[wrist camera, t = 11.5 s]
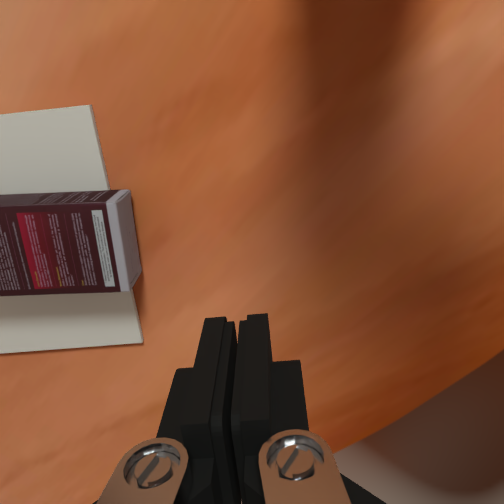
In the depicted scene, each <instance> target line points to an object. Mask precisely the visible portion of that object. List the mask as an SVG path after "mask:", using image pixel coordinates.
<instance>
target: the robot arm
mask: <svg viewBox="0 0 504 504" xmlns="http://www.w3.org/2000/svg"><path fill="white" fill-rule="evenodd" d="M241 498H242V504H386V503H385V502H383V501H382V500H380V499H379V498H377V497H376V496H374V495H372V494H371V493H370V492H368V491H367V490H365V489H363V488H362V487H361V486H359V485H358V484H356V483H354V482H353V481H351V480H350V479H348V478H347V477H345V476H344V475H342V474H341V473H340V472H339V470H338V467H337V465H336V462H335V459H334V457H333V454H332V451H331V449H330V447H329V446H328V444H327V442H326V441H325V440H323V439H322V438H321V437H320V436H319V435H317V434H314V433H312V432H310V431H309V427H308V419H307V411H306V403H305V395H304V387H303V379H302V371H301V363H300V360H291V361H277V362H273V361H272V351H271V341H270V331H269V321H268V314H267V313H265V314H252V315H247V320H244V321H240V323H239V334H238V344H237V337H236V330H235V323H234V321H231V322H227V319H226V317H214V318H205V321H204V325H203V329H202V333H201V338H200V342H199V346H198V350H197V354H196V359H195V363H194V367H193V368H179V369H177V370H176V372H175V375H174V378H173V382H172V385H171V389H170V392H169V395H168V399H167V402H166V406H165V409H164V412H163V416H162V419H161V423H160V426H159V430H158V433H157V436H156V438H153V439H150V440H146V441H143V442H141V443H140V444H138V445H136V446H134V447H133V448H131V449H130V450H129V451H128V452H127V453H126V454H125V455H124V456H123V457H122V459H121V460H120V461H119V463H118V465H117V467H116V468H115V470H114V472H113V474H112V476H111V478H110V479H109V481H108V483H107V485H106V487H105V489H104V490H103V492H102V494H101V496H100V498H99V499H98V500H97V501H96V502H94V503H93V504H241Z"/></svg>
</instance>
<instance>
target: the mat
mask: <svg viewBox="0 0 504 504" xmlns="http://www.w3.org/2000/svg"><path fill="white" fill-rule="evenodd" d="M103 190H110V186H109V181H108V177H107V172H106V168H105V163H104V159H103V154H102V150H101V145H100V141H99V136H98V132H97V127H96V122H95V118H94V113H93V109H92V105H84V106H75V107H66V108H56V109H47V110H38V111H29V112H20V113H10V114H1V115H0V195H5V194H28V193H56V192H79V191H103ZM143 340H144V339H143V334H142V330H141V325H140V321H139V316H138V312H137V307H136V303H135V298H134V294H133V289H131V291H129V292H112V293H79V294H50V295H23V296H0V354H1V353H14V352H27V351H40V350H53V349H66V348H79V347H93V346H106V345H119V344H132V343H142V342H143Z"/></svg>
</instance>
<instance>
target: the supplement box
mask: <svg viewBox="0 0 504 504" xmlns="http://www.w3.org/2000/svg"><path fill="white" fill-rule="evenodd" d="M141 272H142V268H141V264H140V259H139V252H138V244H137V237H136V231H135V224H134V217H133V210H132V203H131V192H130V190H103V191H79V192H56V193H28V194H5V195H0V296H23V295H50V294H79V293H112V292H129V291H131V289H132V287H133V286H134V284H135V282H136V281H137V279H138V277H139V276H140V274H141Z"/></svg>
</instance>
